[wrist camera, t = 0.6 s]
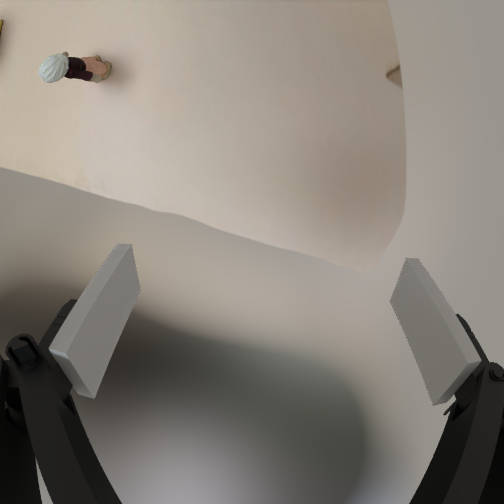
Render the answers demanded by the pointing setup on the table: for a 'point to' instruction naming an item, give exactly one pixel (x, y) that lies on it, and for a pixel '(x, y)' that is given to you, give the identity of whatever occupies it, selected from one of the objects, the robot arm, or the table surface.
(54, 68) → the grandmother figurine
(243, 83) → the table surface
